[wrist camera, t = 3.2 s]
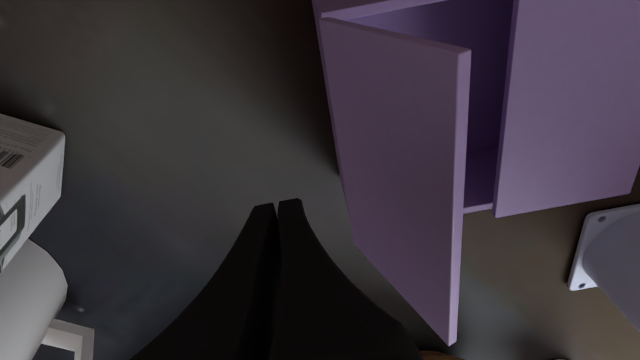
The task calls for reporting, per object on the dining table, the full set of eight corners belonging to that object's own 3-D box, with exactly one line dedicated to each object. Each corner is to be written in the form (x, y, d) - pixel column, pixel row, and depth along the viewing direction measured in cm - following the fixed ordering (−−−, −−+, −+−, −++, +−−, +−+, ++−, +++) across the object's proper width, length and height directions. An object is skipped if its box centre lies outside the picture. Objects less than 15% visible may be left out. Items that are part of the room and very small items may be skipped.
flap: (359, 240, 20) (353, 243, 20) (327, 16, 14) (317, 19, 14) (457, 341, 14) (448, 347, 14) (472, 48, 9) (458, 53, 8)
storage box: (340, 178, 25) (356, 244, 20) (310, -8, 19) (322, 17, 14) (557, 137, 25) (631, 194, 19) (595, -62, 19) (718, -59, 13)
